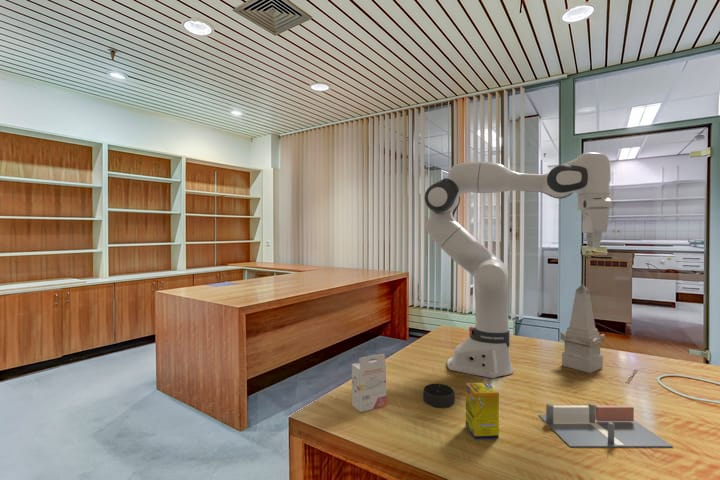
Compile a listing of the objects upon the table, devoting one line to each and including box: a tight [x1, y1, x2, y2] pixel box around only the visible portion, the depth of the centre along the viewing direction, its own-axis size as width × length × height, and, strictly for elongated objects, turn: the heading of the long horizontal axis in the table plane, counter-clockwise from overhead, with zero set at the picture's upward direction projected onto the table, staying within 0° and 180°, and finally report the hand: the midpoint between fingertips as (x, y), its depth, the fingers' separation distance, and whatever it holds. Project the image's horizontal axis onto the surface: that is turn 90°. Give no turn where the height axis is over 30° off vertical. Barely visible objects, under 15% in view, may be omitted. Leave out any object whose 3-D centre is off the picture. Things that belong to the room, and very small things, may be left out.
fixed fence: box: [545, 402, 614, 444], centre depth 88 cm, size 12×10×5 cm
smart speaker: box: [422, 383, 456, 409], centre depth 105 cm, size 9×9×4 cm
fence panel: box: [595, 405, 635, 421], centre depth 92 cm, size 9×1×4 cm, turn 90°
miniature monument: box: [559, 283, 606, 374], centre depth 133 cm, size 10×10×30 cm
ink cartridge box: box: [351, 353, 387, 413], centre depth 102 cm, size 9×5×15 cm, turn 118°
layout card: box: [538, 414, 674, 448], centre depth 89 cm, size 23×14×1 cm, turn 90°
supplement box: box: [465, 382, 500, 441], centre depth 88 cm, size 6×6×11 cm
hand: (593, 247), depth 117 cm, fingers open, 8 cm apart
